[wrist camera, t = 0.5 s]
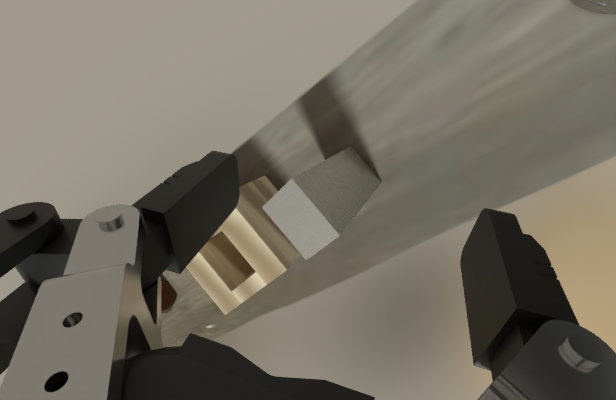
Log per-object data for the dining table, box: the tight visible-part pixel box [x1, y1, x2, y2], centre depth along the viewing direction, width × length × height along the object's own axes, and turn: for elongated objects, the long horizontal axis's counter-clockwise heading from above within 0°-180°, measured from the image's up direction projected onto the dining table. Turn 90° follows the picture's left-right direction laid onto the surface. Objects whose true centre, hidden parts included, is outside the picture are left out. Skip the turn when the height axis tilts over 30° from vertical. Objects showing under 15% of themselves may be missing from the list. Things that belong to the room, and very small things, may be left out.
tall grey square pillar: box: [262, 146, 381, 260], centre depth 28 cm, size 4×5×14 cm
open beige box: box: [186, 175, 301, 315], centre depth 38 cm, size 12×10×8 cm
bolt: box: [161, 281, 177, 313], centre depth 55 cm, size 6×5×15 cm
